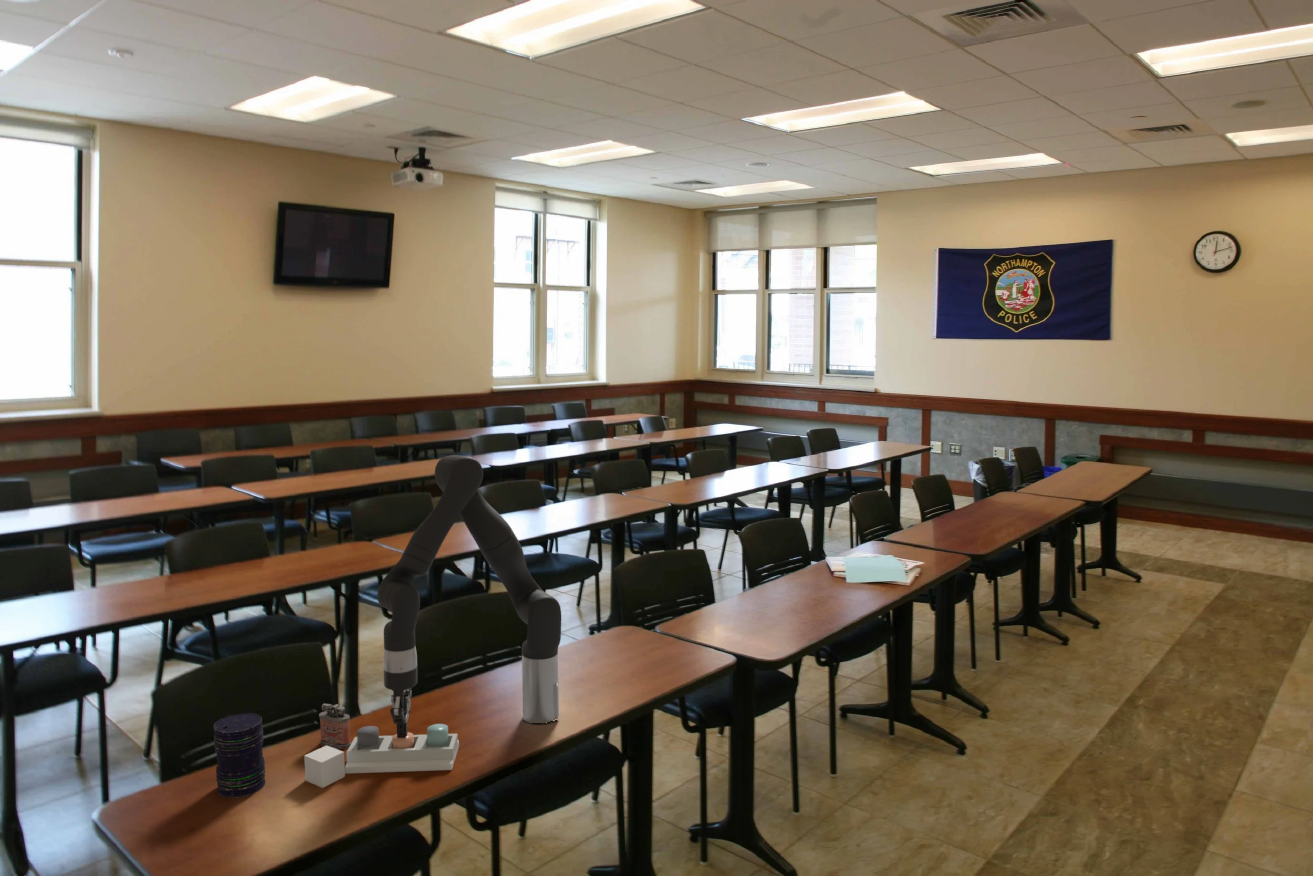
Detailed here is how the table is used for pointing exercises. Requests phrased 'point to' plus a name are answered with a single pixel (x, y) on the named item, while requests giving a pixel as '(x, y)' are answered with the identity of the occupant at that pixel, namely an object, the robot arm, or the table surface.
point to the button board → (402, 756)
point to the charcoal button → (368, 736)
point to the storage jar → (239, 755)
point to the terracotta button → (403, 741)
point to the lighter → (334, 727)
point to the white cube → (324, 766)
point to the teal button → (437, 734)
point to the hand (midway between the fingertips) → (402, 736)
